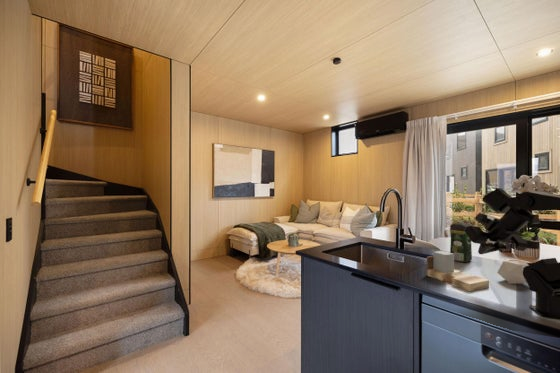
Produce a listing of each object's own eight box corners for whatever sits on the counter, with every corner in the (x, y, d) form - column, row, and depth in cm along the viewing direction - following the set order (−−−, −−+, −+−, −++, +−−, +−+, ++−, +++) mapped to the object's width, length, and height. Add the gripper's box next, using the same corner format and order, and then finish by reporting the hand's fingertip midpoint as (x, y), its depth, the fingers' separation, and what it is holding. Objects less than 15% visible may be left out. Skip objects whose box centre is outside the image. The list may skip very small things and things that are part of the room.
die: (532, 290, 90) (538, 266, 93) (507, 277, 92) (514, 254, 95) (512, 290, 98) (518, 267, 101) (489, 277, 99) (496, 256, 102)
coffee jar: (455, 256, 131) (456, 220, 131) (474, 260, 124) (474, 222, 124) (446, 259, 125) (447, 222, 125) (465, 263, 119) (466, 224, 119)
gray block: (454, 271, 100) (454, 253, 100) (445, 272, 99) (445, 255, 99) (441, 267, 105) (442, 250, 105) (433, 268, 103) (433, 251, 103)
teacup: (504, 273, 106) (504, 260, 106) (509, 270, 110) (509, 257, 110) (537, 281, 98) (538, 267, 98) (542, 277, 102) (542, 263, 102)
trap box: (488, 287, 91) (489, 266, 91) (469, 291, 88) (469, 269, 88) (444, 272, 107) (444, 254, 107) (426, 275, 103) (426, 256, 103)
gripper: (520, 211, 89) (490, 240, 98) (470, 202, 88) (444, 232, 97) (544, 235, 80) (509, 264, 90) (489, 225, 79) (459, 256, 89)
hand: (479, 253), depth 92 cm, fingers closed
